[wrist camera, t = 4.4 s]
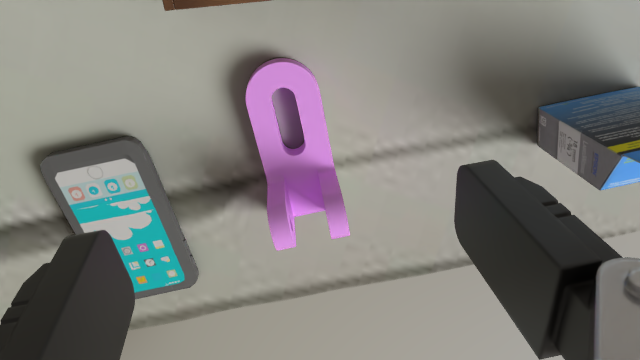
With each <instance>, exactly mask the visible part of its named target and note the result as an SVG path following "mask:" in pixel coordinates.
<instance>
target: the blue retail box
mask: <svg viewBox="0 0 640 360" xmlns="http://www.w3.org/2000/svg"><path fill="white" fill-rule="evenodd" d="M537 145H538V146H539V147H540V148H542V149H543V150H544V151H546V152H547V153H549V154H550V155H551V156H553V157H554V158H555V159H557V160H558V161H560V162H561V163H562V164H564V165H565V166H566V167H568V168H569V169H571V170H572V171H573V172H575V173H576V174H578V175H579V176H580V177H582V178H583V179H585V180H586V181H587V182H589V183H590V184H591V185H593V186H594V187H596V188H597V189H598V190H604V189H609V188H613V187H618V186H622V185H627V184H632V183H636V182H640V87H635V88H629V89H624V90H618V91H613V92H608V93H604V94H599V95H594V96H589V97H584V98H579V99H574V100H570V101H565V102H560V103H555V104H551V105H546V106H542V107H539V108H538V134H537Z"/></svg>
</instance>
